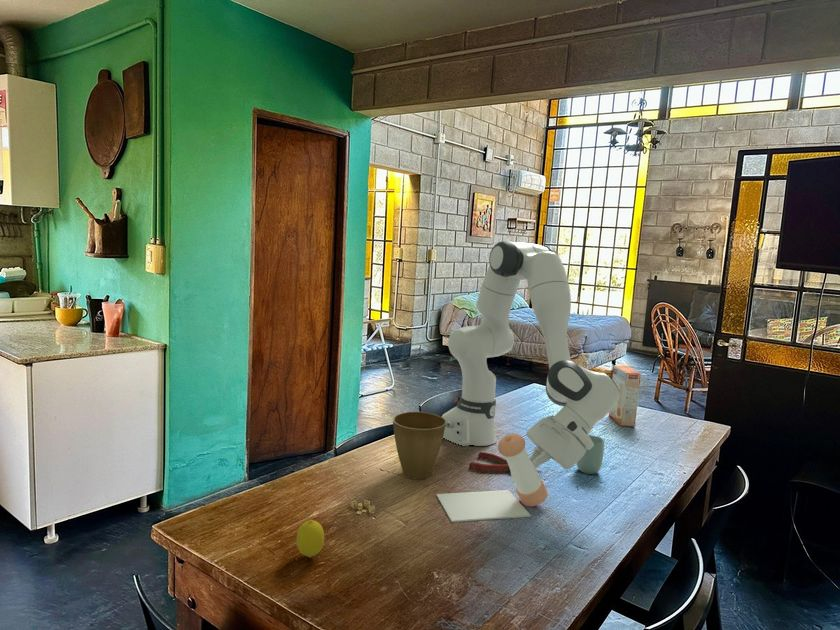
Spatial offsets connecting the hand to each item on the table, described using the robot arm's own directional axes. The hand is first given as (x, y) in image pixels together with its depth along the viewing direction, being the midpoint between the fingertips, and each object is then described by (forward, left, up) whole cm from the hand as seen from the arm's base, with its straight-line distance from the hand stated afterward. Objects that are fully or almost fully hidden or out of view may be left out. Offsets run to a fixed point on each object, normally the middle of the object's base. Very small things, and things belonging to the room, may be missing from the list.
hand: (531, 464), depth 141 cm
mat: (-8, -10, -10) cm, 16 cm away
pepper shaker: (+1, +1, -9) cm, 9 cm away
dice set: (-29, -31, -11) cm, 44 cm away
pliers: (-15, +14, -11) cm, 24 cm away
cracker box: (-4, +90, -11) cm, 91 cm away
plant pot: (-32, -6, -11) cm, 34 cm away
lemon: (-23, -54, -11) cm, 59 cm away
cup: (+4, +31, -11) cm, 33 cm away
